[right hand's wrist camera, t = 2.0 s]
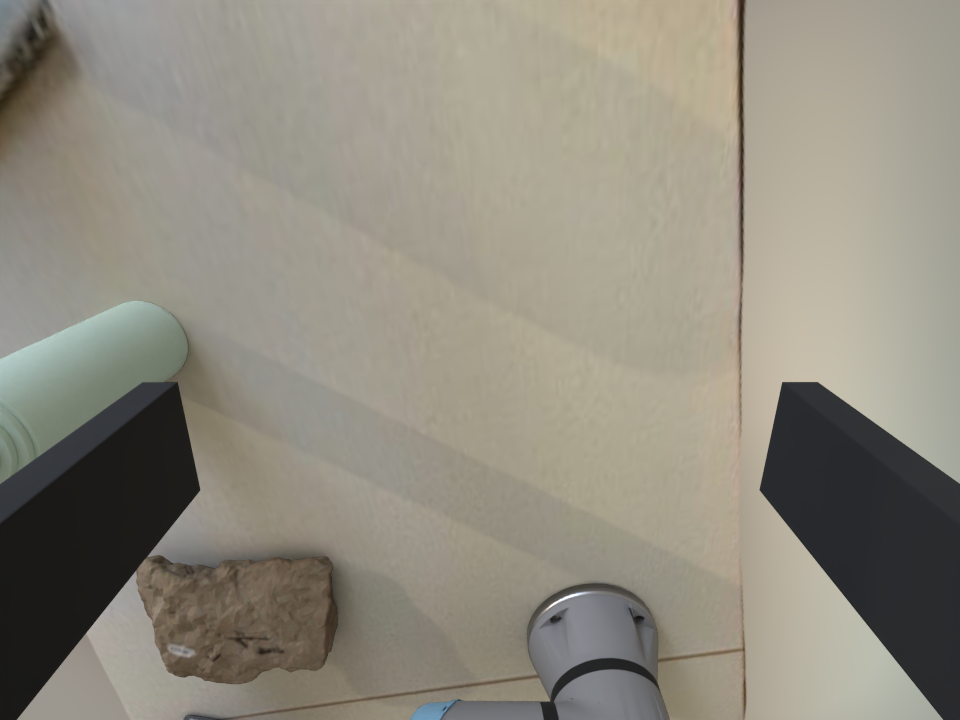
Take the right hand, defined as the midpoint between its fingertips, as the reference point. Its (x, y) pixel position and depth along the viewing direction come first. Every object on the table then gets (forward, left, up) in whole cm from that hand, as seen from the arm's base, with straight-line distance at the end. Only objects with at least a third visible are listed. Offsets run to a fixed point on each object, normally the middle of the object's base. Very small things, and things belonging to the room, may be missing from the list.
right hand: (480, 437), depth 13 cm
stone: (-43, +27, -41) cm, 65 cm away
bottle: (-12, +32, -41) cm, 53 cm away
